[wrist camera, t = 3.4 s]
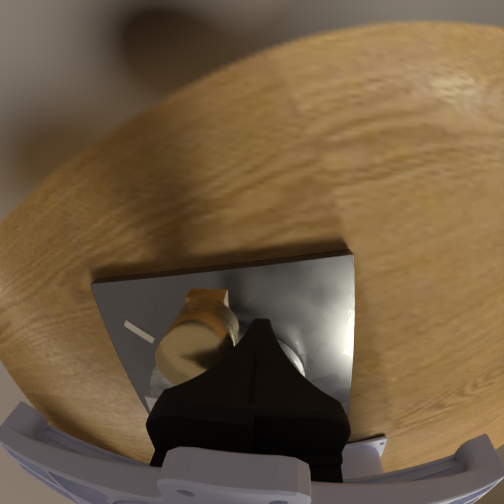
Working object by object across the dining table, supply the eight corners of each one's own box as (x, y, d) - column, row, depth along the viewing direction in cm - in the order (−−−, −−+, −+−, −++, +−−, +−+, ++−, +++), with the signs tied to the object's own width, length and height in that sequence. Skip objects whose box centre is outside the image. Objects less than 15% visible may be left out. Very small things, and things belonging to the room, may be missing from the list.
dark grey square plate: (343, 428, 22) (345, 436, 21) (166, 432, 24) (164, 440, 23) (349, 249, 17) (354, 254, 16) (96, 278, 19) (89, 284, 18)
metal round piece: (299, 426, 21) (301, 497, 14) (175, 418, 22) (152, 482, 15) (315, 264, 16) (342, 338, 9) (137, 263, 17) (70, 320, 10)
